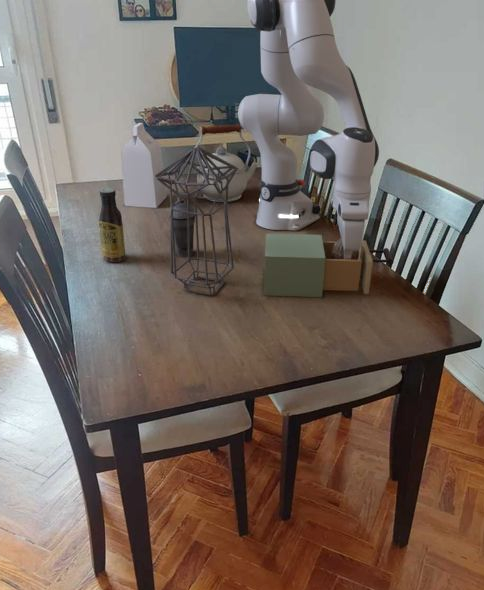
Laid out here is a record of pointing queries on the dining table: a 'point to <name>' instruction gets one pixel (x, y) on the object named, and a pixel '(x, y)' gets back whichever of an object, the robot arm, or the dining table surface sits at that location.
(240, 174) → the kettle
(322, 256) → the cabinet
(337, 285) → the drawer
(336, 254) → the vase
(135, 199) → the milk
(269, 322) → the dining table surface
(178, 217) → the beverage cup
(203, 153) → the geometric lantern
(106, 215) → the sauce bottle
